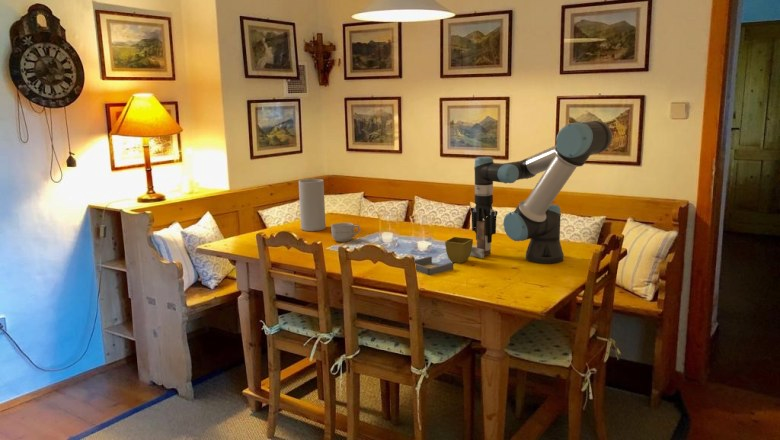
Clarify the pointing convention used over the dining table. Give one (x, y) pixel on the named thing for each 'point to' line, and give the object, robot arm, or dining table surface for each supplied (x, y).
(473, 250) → the upright post on base
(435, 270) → the tray
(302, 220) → the cylinder vase
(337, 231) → the teacup
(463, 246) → the flower pot
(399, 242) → the dining table surface
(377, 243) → the dining table surface
